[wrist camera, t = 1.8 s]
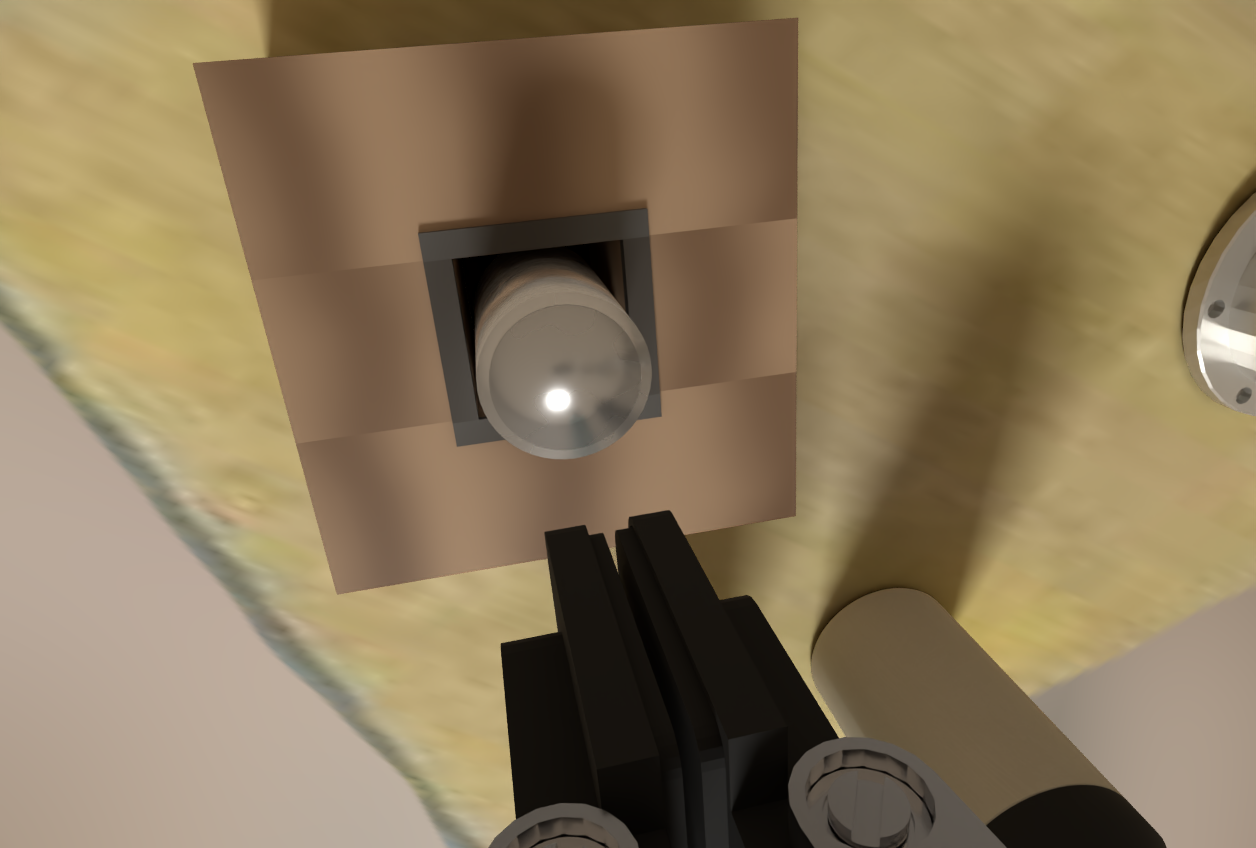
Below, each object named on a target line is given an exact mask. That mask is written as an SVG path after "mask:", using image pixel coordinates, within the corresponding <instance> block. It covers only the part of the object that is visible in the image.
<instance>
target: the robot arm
mask: <svg viewBox="0 0 1256 848" xmlns="http://www.w3.org/2000/svg"><path fill="white" fill-rule="evenodd" d="M1182 337H1183V346H1184V355H1185V359H1186V362H1187V365H1188V368H1189V371H1190V374H1191V376H1192V377H1193V379H1194V380H1195V382H1196V383H1197V385H1198V386H1199V388H1200V389H1201V391H1203V392H1204V393H1205V394H1206V395H1207V396H1209V397H1210V398H1211V399H1212V400H1213V401H1215V402H1217V403H1219V404H1222V405H1224V406H1226V407H1228V408H1231V409H1233V410H1235V411H1238V412H1242V413H1245V414H1248V415H1252V416H1256V192H1255V193H1254V194H1253V195H1252V196H1251V197H1250V198H1249V199H1248V200H1247V201H1246V202H1245V203H1244V204H1243V205H1242V206H1241V207H1240V208H1239V209H1238V210H1237V211H1236V212H1235V213H1234V214H1233V215H1232V216H1231V217H1230V219H1229V220H1228V221H1227V223H1226V224H1225V225H1224V227H1223V228H1222V229H1221V231H1220V232H1219V233H1218V234H1217V236H1216V237H1215V238H1214V240H1213V242H1212V244H1211V245H1210V247H1209V249H1208V250H1207V252H1206V254H1205V256H1204V257H1203V259H1202V261H1201V263H1200V265H1199V267H1198V270H1197V272H1196V275H1195V277H1194V280H1193V282H1192V285H1191V287H1190V291H1189V295H1188V299H1187V303H1186V307H1185V311H1184V322H1183V335H1182ZM544 535H545V543H546V550H547V557H548V565H549V572H550V579H551V586H552V593H553V600H554V607H555V614H556V621H557V628H558V632H556V633H551V634H546V635H541V636H536V637H531V638H526V639H521V640H516V641H511V642H506V643H501V657H502V668H503V679H504V691H505V702H506V713H507V724H508V735H509V746H510V758H511V769H512V780H513V791H514V802H515V814H516V820H514V821H513V822H512V823H511V824H510V825H509V826H507V827H506V828H505V829H504V830H503V831H502V832H501V833H500V834H499V835H497V836H496V837H495V838H494V840H493V841H492V843H491V845H490V846H489V848H1025V847H1022V846H1020V845H1017V844H1015V843H1012V842H1010V841H1007V840H1005V839H1002V838H1000V837H997V836H995V835H994V834H993V833H992V832H991V831H990V829H989V828H988V827H987V826H986V825H985V824H984V823H983V822H982V821H981V820H980V819H979V818H978V817H977V816H976V815H975V814H974V813H973V811H972V810H971V809H970V808H969V807H968V806H967V805H966V804H965V803H964V802H963V801H962V800H961V799H960V798H959V797H958V796H957V795H956V793H955V792H954V791H953V790H952V789H951V788H950V787H949V786H948V785H947V784H946V783H945V782H944V781H943V780H942V779H941V778H940V777H939V775H938V774H937V773H936V772H935V771H934V770H932V769H931V768H930V767H929V766H928V765H926V764H925V763H924V762H923V761H922V760H920V759H919V758H918V757H917V756H916V755H914V754H912V753H910V752H908V751H906V750H904V749H902V748H900V747H898V746H896V745H894V744H891V743H887V742H883V741H880V740H876V739H872V738H860V737H843V738H839V737H838V736H837V734H836V732H835V731H834V729H833V728H832V726H831V724H830V723H829V721H828V719H827V718H826V716H825V715H824V713H823V711H822V710H821V708H820V706H819V705H818V703H817V701H816V700H815V698H814V697H813V695H812V693H811V692H810V690H809V688H808V687H807V685H806V684H805V682H804V680H803V679H802V677H801V675H800V674H799V672H798V670H797V669H796V667H795V666H794V664H793V662H792V661H791V659H790V657H789V656H788V654H787V653H786V651H785V649H784V648H783V646H782V644H781V643H780V641H779V640H778V638H777V636H776V635H775V633H774V631H773V630H772V628H771V626H770V625H769V623H768V622H767V620H766V618H765V617H764V615H763V613H762V612H761V610H760V609H759V607H758V605H757V604H756V602H755V601H754V600H753V599H752V597H750V596H748V595H744V596H739V597H734V598H729V599H724V600H719V598H718V597H717V595H716V593H715V591H714V589H713V587H712V585H711V584H710V582H709V580H708V578H707V576H706V574H705V573H704V571H703V569H702V567H701V565H700V563H699V561H698V560H697V558H696V556H695V554H694V552H693V550H692V549H691V547H690V545H689V543H688V541H687V539H686V538H685V536H684V534H683V532H682V530H681V528H680V526H679V525H678V523H677V521H676V519H675V517H674V515H673V514H672V512H671V511H670V510H665V511H660V512H654V513H648V514H643V515H637V516H631V517H629V519H628V528H626V529H620V530H615V544H616V554H617V564H618V572H617V569H616V566H615V564H614V561H613V558H612V555H611V552H610V550H609V547H608V544H607V541H606V538H605V536H604V533H598V534H592V535H589V533H588V530H587V527H586V525H580V526H574V527H569V528H563V529H557V530H551V531H546V532H544ZM618 574H619V575H618Z"/></svg>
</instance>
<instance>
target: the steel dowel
mask: <svg viewBox="0 0 1256 848" xmlns="http://www.w3.org/2000/svg"><path fill="white" fill-rule="evenodd" d="M474 318H475V352H476V382H477V392H478V396H479V400H480V404H481V406H482V409H483V411H484V413H485V415H486V417H487V419H488V420H489V422H490V423H491V425H492V426H493V427H494V429H495V430H496V431H497V432H498V433H499V434H500V435H501V436H502V437H503V438H504V439H505V440H507V441H508V442H509V443H511V444H512V445H513V446H515V447H517V448H519V449H520V450H522V451H525V452H527V453H529V454H532V455H535V456H539V457H543V458H550V459H573V458H579V457H584V456H587V455H590V454H593V453H596V452H598V451H600V450H603V449H605V448H607V447H608V446H610V445H611V444H613V443H614V442H616V441H617V440H618V439H620V438H621V437H622V436H623V435H624V434H625V433H626V432H627V431H628V430H629V429H630V428H631V427H632V426H633V424H634V423H635V422H636V420H637V419H638V418H639V416H640V414H641V412H642V411H643V409H644V406H645V404H646V401H647V399H648V395H649V392H650V387H651V379H652V366H651V359H650V354H649V351H648V347H647V345H646V342H645V340H644V338H643V336H642V334H641V333H640V331H639V329H638V328H637V326H636V325H635V324H634V322H633V321H632V320H631V318H630V317H629V316H628V315H627V313H626V312H625V311H624V309H623V308H622V307H621V306H620V304H619V303H618V302H617V300H616V299H615V298H614V296H613V295H612V294H611V293H610V291H609V290H608V289H607V287H606V286H605V285H604V284H603V282H602V281H601V280H600V278H599V277H598V276H597V274H596V273H595V272H594V271H593V269H592V268H591V267H590V266H589V264H588V263H587V262H586V261H585V260H584V259H583V258H582V257H581V256H579V255H578V254H576V253H575V252H574V251H572V250H570V249H568V248H566V247H563V246H561V247H552V248H543V249H534V250H526V251H517V252H508V253H502V254H500V255H499V256H498V257H497V258H495V259H494V260H493V261H492V262H491V263H490V265H489V266H488V267H487V268H486V270H485V271H484V273H483V274H482V276H481V278H480V280H479V283H478V286H477V289H476V293H475V299H474Z"/></svg>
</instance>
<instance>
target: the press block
mask: <svg viewBox="0 0 1256 848" xmlns="http://www.w3.org/2000/svg"><path fill="white" fill-rule="evenodd" d="M193 67H194V70H195V74H196V78H197V81H198V85H199V89H200V92H201V96H202V100H203V103H204V107H205V111H206V114H207V118H208V122H209V125H210V129H211V133H212V136H213V140H214V144H215V147H216V151H217V155H218V159H219V162H220V166H221V170H222V173H223V177H224V181H225V184H226V188H227V192H228V195H229V199H230V203H231V206H232V210H233V214H234V217H235V221H236V225H237V228H238V232H239V236H240V240H241V243H242V247H243V251H244V254H245V258H246V262H247V265H248V269H249V273H250V276H251V280H252V284H253V287H254V291H255V295H256V298H257V302H258V306H259V309H260V313H261V317H262V320H263V324H264V328H265V332H266V335H267V339H268V343H269V346H270V350H271V354H272V357H273V361H274V365H275V368H276V372H277V376H278V379H279V383H280V387H281V390H282V394H283V398H284V401H285V405H286V409H287V413H288V416H289V420H290V424H291V427H292V431H293V435H294V438H295V442H296V446H297V449H298V453H299V457H300V460H301V464H302V468H303V471H304V475H305V479H306V482H307V486H308V490H309V493H310V497H311V501H312V505H313V508H314V512H315V516H316V519H317V523H318V527H319V530H320V534H321V538H322V541H323V545H324V549H325V552H326V556H327V560H328V563H329V567H330V571H331V574H332V578H333V582H334V586H335V589H336V593H337V595H338V594H343V593H349V592H355V591H361V590H367V589H373V588H378V587H384V586H390V585H396V584H402V583H408V582H413V581H419V580H425V579H431V578H437V577H443V576H448V575H454V574H460V573H466V572H472V571H478V570H483V569H489V568H495V567H501V566H507V565H513V564H518V563H524V562H530V561H536V560H542V559H548V557H547V550H546V543H545V535H544V532H546V531H551V530H557V529H563V528H569V527H574V526H580V525H586V527H587V530H588V533H589V535H592V534H598V533H604V536H605V538H606V541H607V544H608V547H609V548H612V547H616V544H615V530H620V529H626V528H628V519H629V517H631V516H637V515H643V514H648V513H654V512H660V511H665V510H670V511H671V512H672V514H673V515H674V517H675V519H676V521H677V523H678V525H679V526H680V528H681V530H682V532H683V534H684V535H688V534H693V533H699V532H705V531H711V530H717V529H723V528H729V527H734V526H740V525H746V524H752V523H758V522H764V521H769V520H775V519H781V518H787V517H793V516H796V344H797V143H798V18H788V19H775V20H761V21H748V22H735V23H721V24H708V25H695V26H681V27H668V28H655V29H642V30H628V31H615V32H602V33H588V34H575V35H562V36H548V37H535V38H522V39H508V40H495V41H482V42H468V43H455V44H442V45H428V46H415V47H402V48H388V49H375V50H362V51H348V52H335V53H322V54H309V55H295V56H282V57H269V58H255V59H242V60H229V61H215V62H202V63H193ZM587 243H589V253H590V263H591V268H592V269H593V271H594V272H595V273H596V274H597V276H598V277H599V278H600V280H601V281H602V282H603V284H604V285H605V286H606V287H607V289H608V290H609V291H610V293H611V294H612V295H613V296H614V298H615V299H616V300H617V302H618V303H619V304H620V306H621V307H622V308H623V309H624V311H625V312H626V313H627V315H628V316H629V317H630V318H631V320H632V321H633V322H634V324H635V325H636V326H637V328H638V329H639V331H640V333H641V334H642V336H643V338H644V340H645V342H646V345H647V347H648V351H649V354H650V359H651V366H652V379H651V387H650V392H649V395H648V399H647V401H646V404H645V406H644V409H643V411H642V412H641V414H640V416H639V418H638V419H637V420H636V422H635V423H634V424H633V426H632V427H631V428H630V429H629V430H628V431H627V432H626V433H625V434H624V435H623V436H622V437H621V438H620V439H618V440H617V441H616V442H614V443H613V444H611V445H610V446H608V447H607V448H605V449H603V450H600V451H598V452H596V453H593V454H590V455H587V456H584V457H579V458H573V459H550V458H543V457H539V456H535V455H532V454H529V453H527V452H525V451H522V450H520V449H519V448H517V447H515V446H513V445H512V444H511V443H509V442H508V441H507V440H505V439H504V438H503V437H502V436H501V435H500V434H499V433H498V432H497V431H496V430H495V429H494V427H493V426H492V425H491V423H490V422H489V420H488V419H487V417H486V415H485V413H484V411H483V409H482V406H481V404H480V400H479V396H478V392H477V382H476V352H475V336H474V330H473V324H472V318H471V311H470V305H469V299H468V293H467V287H466V281H465V275H464V269H463V262H462V258H464V257H473V256H482V255H491V254H499V253H508V252H517V251H526V250H534V249H543V248H552V247H561V246H569V245H578V244H587Z"/></svg>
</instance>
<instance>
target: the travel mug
mask: <svg viewBox="0 0 1256 848" xmlns="http://www.w3.org/2000/svg"><path fill="white" fill-rule="evenodd" d="M811 672H812V677H813V681H814V684H815V686H816V688H817V689H818V691H819V693H820V694H821V696H822V698H823V699H824V701H825V703H826V704H827V706H828V708H829V709H830V711H831V713H832V714H833V716H834V718H835V719H836V721H837V723H838V724H839V726H840V728H841V729H842V731H843V733H844V734H845V736H846V737H860V738H872V739H876V740H880V741H883V742H887V743H891V744H894V745H896V746H898V747H900V748H902V749H904V750H906V751H908V752H910V753H912V754H914V755H916V756H917V757H918V758H919V759H920V760H922V761H923V762H924V763H925V764H926V765H928V766H929V767H930V768H931V769H932V770H934V771H935V772H936V773H937V774H938V775H939V777H940V778H941V779H942V780H943V781H944V782H945V783H946V784H947V785H948V786H949V787H950V788H951V789H952V790H953V791H954V792H955V793H956V795H957V796H958V797H959V798H960V799H961V800H962V801H963V802H964V803H965V804H966V805H967V806H968V807H969V808H970V809H971V810H972V811H973V813H974V814H975V815H976V816H977V817H978V818H979V819H980V820H981V821H982V822H983V823H984V824H985V825H986V826H987V827H988V828H989V829H990V831H991V832H992V833H993V834H994V835H995V836H997V837H1000V838H1002V839H1005V840H1007V841H1010V842H1012V843H1015V844H1017V845H1020V846H1022V847H1025V848H1166V845H1165V843H1164V841H1163V839H1162V837H1161V836H1160V835H1159V834H1158V833H1157V832H1156V831H1155V829H1154V828H1153V827H1151V825H1150V824H1149V823H1148V822H1147V821H1146V820H1145V819H1144V818H1143V817H1142V816H1141V815H1140V814H1139V813H1138V812H1137V811H1136V809H1135V808H1133V806H1132V805H1131V804H1130V803H1129V802H1128V801H1127V800H1126V799H1125V798H1124V797H1123V796H1122V795H1121V794H1120V793H1119V792H1118V791H1117V790H1116V788H1115V787H1113V785H1112V784H1111V783H1110V782H1109V781H1108V780H1107V779H1106V778H1105V777H1104V776H1103V775H1102V774H1101V773H1100V772H1099V771H1098V770H1097V769H1096V767H1094V766H1093V764H1092V763H1091V762H1090V761H1089V760H1088V759H1087V758H1086V757H1085V756H1084V755H1083V754H1082V753H1081V752H1080V751H1079V750H1078V749H1077V748H1076V746H1075V745H1073V743H1072V742H1071V741H1070V740H1069V739H1068V738H1067V737H1066V736H1065V735H1064V734H1063V733H1062V732H1061V731H1060V730H1059V729H1058V728H1057V727H1056V725H1055V724H1054V723H1053V722H1052V721H1051V720H1050V719H1049V718H1048V717H1047V716H1046V715H1045V714H1044V713H1043V712H1042V711H1041V710H1040V709H1039V708H1038V706H1036V704H1035V703H1034V702H1033V701H1032V700H1031V699H1030V698H1029V697H1028V696H1027V695H1026V694H1025V693H1024V692H1023V691H1022V690H1021V689H1020V688H1019V687H1018V685H1017V684H1016V683H1015V682H1014V681H1013V680H1012V679H1011V678H1010V677H1009V676H1008V675H1007V674H1006V673H1005V672H1004V671H1003V670H1002V669H1001V668H1000V667H999V665H998V664H997V663H996V662H995V661H994V660H993V659H992V658H991V657H990V656H989V655H988V654H987V653H986V652H985V651H984V650H983V649H982V648H981V647H980V646H979V644H978V643H977V642H976V641H975V640H974V639H973V638H972V637H971V636H970V635H969V634H968V633H967V632H966V631H965V630H964V629H963V628H962V627H961V626H960V624H959V623H958V622H957V621H956V620H955V619H954V618H953V617H952V616H951V615H950V614H949V613H948V612H947V611H946V610H945V609H944V608H943V607H942V606H941V605H940V603H939V602H937V601H936V600H935V599H934V598H933V597H931V596H930V595H928V594H926V593H924V592H921V591H918V590H914V589H908V588H891V589H885V590H880V591H877V592H873V593H871V594H868V595H865V596H863V597H861V598H859V599H857V600H856V601H854V602H852V603H851V604H849V605H848V606H846V607H845V608H844V609H842V610H841V611H840V612H839V613H838V614H837V615H836V616H835V617H834V618H833V619H832V620H831V621H830V622H829V623H828V624H827V626H826V627H825V628H824V630H823V631H822V633H821V635H820V636H819V638H818V640H817V642H816V645H815V648H814V651H813V655H812V661H811Z"/></svg>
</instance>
